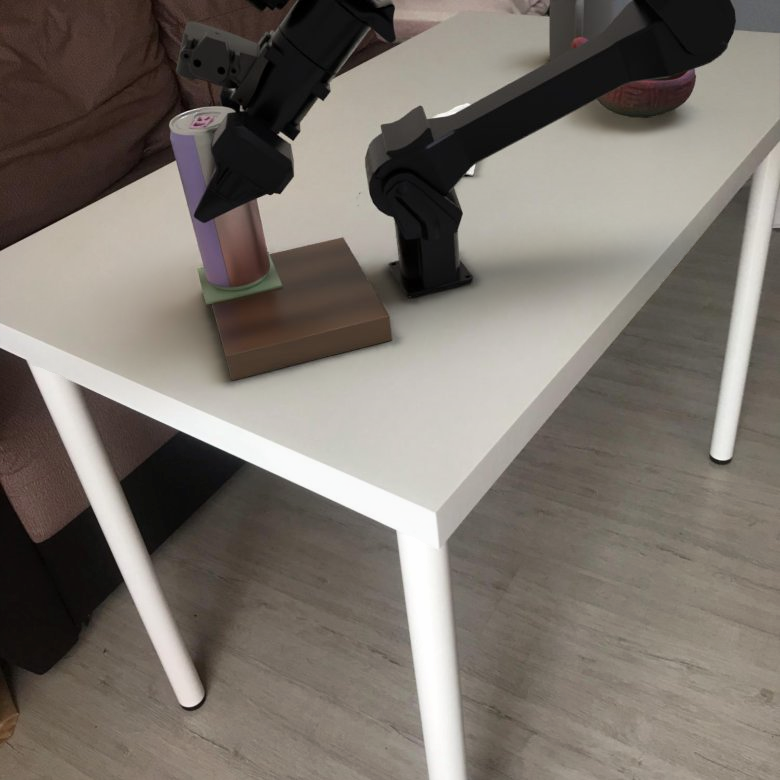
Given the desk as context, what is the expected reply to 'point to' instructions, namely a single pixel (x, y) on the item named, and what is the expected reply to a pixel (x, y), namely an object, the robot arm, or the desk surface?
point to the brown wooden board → (298, 310)
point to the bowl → (647, 94)
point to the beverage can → (230, 230)
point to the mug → (576, 22)
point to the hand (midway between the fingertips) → (202, 196)
